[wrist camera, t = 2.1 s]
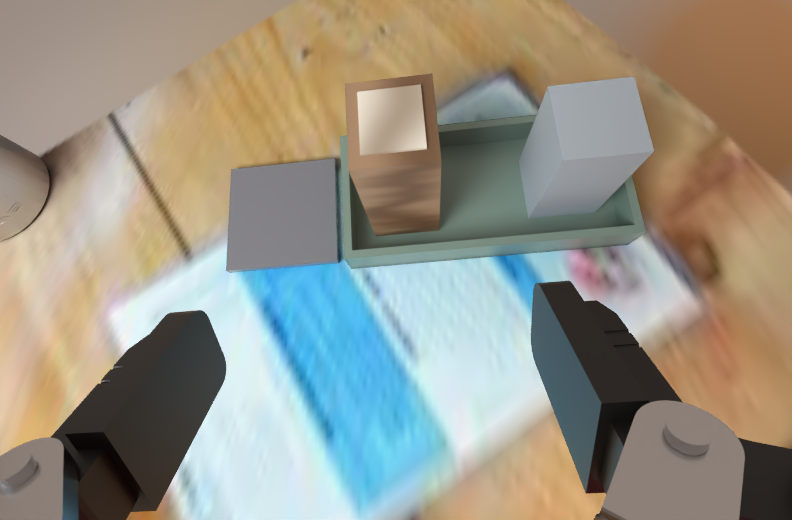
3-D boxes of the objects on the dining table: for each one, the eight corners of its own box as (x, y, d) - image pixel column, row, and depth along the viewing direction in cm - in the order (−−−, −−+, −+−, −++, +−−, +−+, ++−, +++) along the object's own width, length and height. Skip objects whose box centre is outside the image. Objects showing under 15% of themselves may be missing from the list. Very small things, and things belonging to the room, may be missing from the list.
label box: (375, 236, 33) (347, 168, 22) (372, 172, 34) (344, 79, 24) (439, 230, 32) (441, 158, 22) (432, 166, 34) (431, 69, 23)
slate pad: (229, 272, 34) (226, 270, 33) (234, 172, 36) (231, 169, 36) (339, 262, 33) (337, 261, 32) (336, 162, 36) (334, 158, 35)
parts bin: (351, 268, 33) (344, 259, 30) (347, 154, 36) (340, 136, 33) (627, 244, 31) (646, 232, 29) (600, 127, 34) (614, 106, 32)
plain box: (528, 218, 32) (562, 160, 23) (518, 161, 33) (548, 86, 25) (594, 212, 32) (654, 151, 23) (582, 154, 33) (634, 76, 25)
